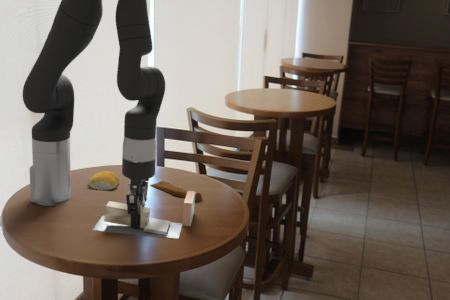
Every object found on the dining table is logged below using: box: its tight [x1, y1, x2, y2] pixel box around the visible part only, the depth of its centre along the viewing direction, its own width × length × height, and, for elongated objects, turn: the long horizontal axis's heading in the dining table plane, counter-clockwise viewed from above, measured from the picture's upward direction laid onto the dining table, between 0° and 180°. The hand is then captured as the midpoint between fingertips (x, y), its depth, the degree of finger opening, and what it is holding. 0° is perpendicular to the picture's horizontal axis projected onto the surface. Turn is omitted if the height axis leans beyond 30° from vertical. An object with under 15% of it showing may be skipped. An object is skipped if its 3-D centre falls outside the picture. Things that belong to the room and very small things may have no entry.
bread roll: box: [88, 170, 120, 191], centre depth 137 cm, size 8×9×4 cm
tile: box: [182, 190, 196, 227], centre depth 117 cm, size 2×8×7 cm, turn 178°
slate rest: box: [92, 215, 183, 240], centre depth 111 cm, size 20×8×1 cm, turn 88°
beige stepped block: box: [104, 200, 171, 235], centre depth 110 cm, size 15×6×4 cm, turn 88°
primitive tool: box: [149, 180, 203, 203], centre depth 136 cm, size 19×6×4 cm, turn 48°
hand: (136, 224), depth 111 cm, fingers closed on beige stepped block, 2 cm apart
